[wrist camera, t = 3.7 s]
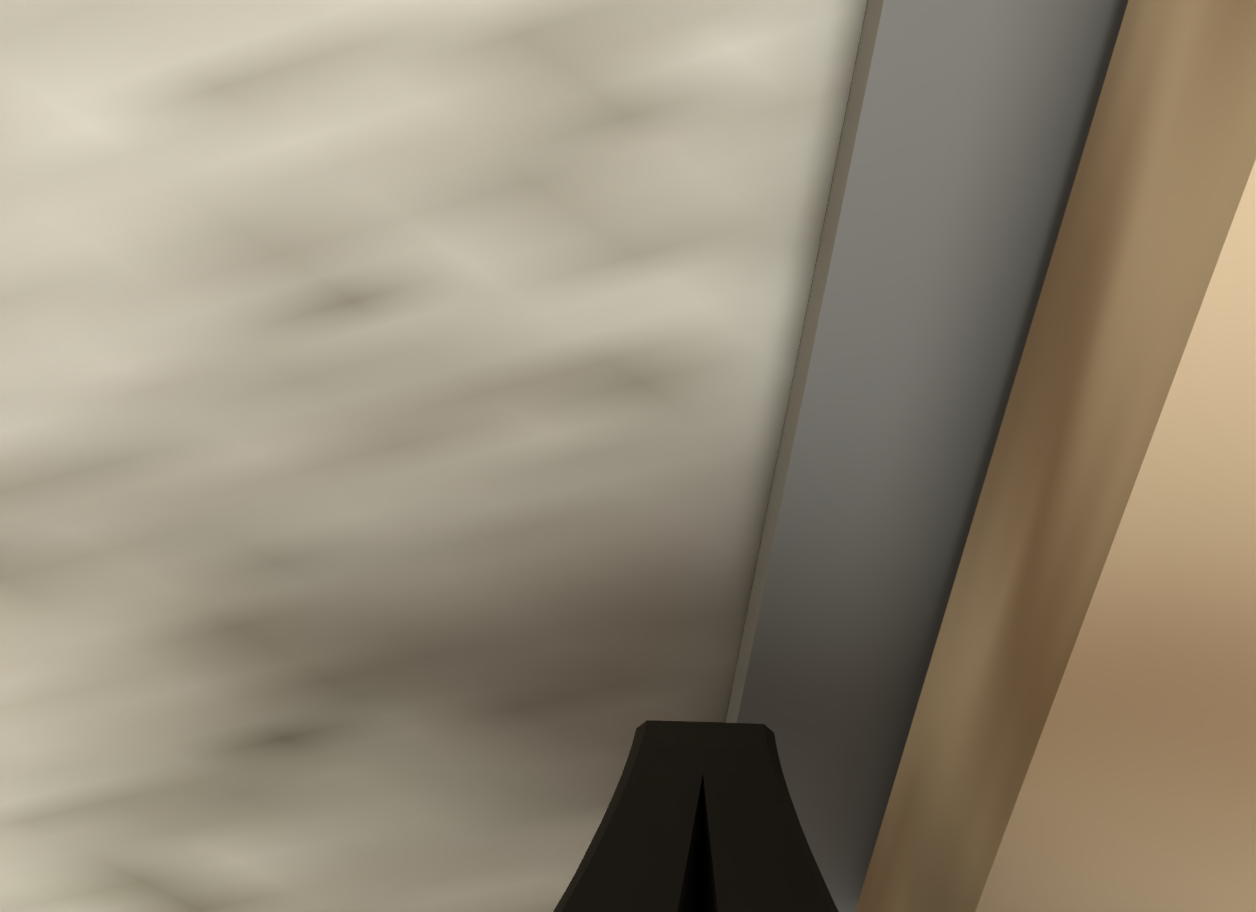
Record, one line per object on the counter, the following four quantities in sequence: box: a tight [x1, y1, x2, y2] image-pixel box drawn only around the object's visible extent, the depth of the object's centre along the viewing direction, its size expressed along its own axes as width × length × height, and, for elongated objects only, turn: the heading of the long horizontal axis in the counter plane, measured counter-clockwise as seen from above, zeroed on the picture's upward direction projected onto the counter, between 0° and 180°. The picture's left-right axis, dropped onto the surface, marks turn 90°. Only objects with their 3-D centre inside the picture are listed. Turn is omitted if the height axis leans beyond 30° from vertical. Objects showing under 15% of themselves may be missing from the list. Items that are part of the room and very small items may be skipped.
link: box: [855, 0, 1256, 912], centre depth 9 cm, size 16×4×3 cm, turn 174°
